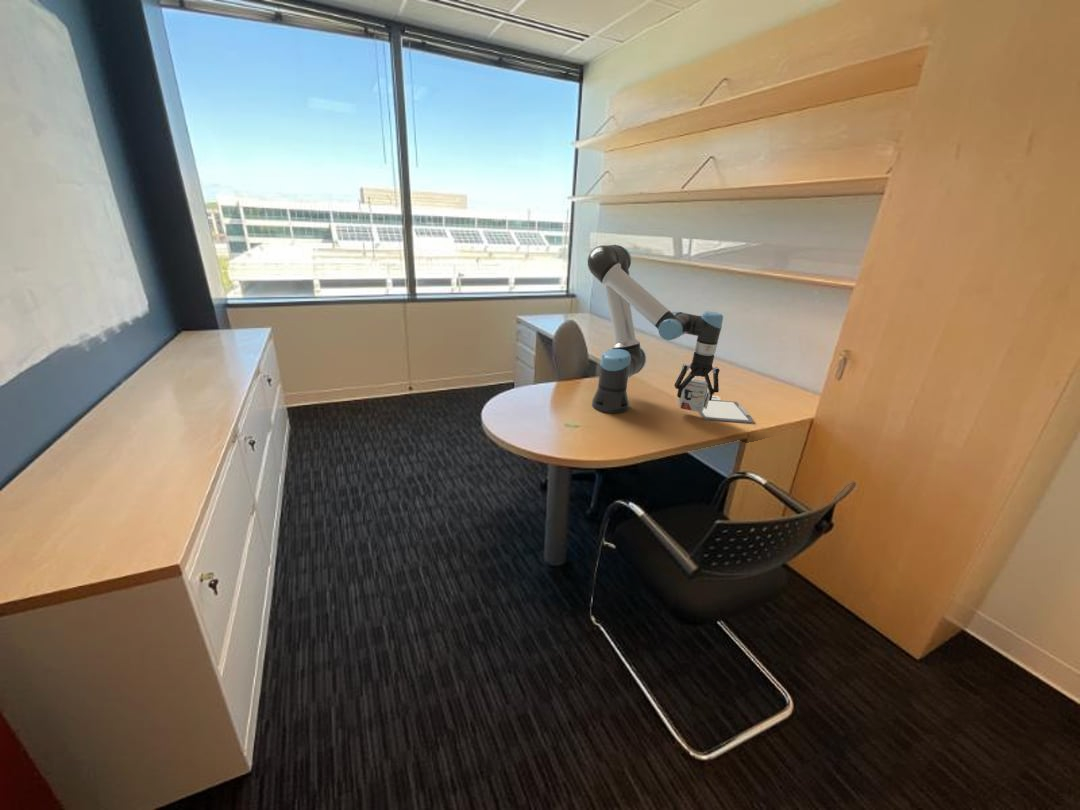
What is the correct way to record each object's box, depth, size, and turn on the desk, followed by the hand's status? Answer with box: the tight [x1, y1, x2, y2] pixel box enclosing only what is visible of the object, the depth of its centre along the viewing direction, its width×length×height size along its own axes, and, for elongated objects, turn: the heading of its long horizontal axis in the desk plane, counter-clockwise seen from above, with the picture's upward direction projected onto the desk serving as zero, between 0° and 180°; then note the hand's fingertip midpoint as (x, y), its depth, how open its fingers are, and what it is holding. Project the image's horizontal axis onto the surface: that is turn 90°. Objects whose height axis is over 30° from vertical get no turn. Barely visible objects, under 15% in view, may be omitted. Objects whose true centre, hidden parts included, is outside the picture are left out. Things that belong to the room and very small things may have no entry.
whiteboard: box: [698, 400, 756, 424], centre depth 186 cm, size 20×22×1 cm
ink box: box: [680, 378, 709, 413], centre depth 176 cm, size 9×5×12 cm, turn 63°
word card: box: [711, 395, 723, 401], centre depth 200 cm, size 8×5×1 cm, turn 86°
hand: (692, 406), depth 178 cm, fingers closed on ink box, 10 cm apart
